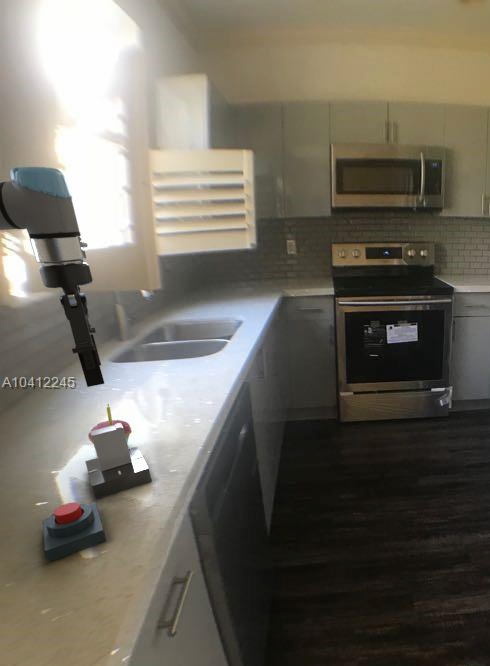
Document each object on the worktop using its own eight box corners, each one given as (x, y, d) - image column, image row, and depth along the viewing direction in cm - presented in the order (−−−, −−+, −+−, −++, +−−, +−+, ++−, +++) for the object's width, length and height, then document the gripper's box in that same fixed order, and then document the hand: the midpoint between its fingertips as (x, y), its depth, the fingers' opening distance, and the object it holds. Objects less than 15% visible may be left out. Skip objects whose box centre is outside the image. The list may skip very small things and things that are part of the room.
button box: (46, 530, 79) (39, 510, 78) (99, 512, 84) (93, 493, 82) (48, 562, 72) (41, 541, 70) (106, 540, 76) (100, 520, 75)
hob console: (88, 473, 97) (84, 460, 95) (140, 458, 102) (137, 445, 101) (95, 499, 87) (91, 485, 86) (152, 481, 93) (148, 467, 92)
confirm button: (56, 516, 77) (53, 507, 76) (81, 508, 79) (78, 499, 78) (57, 527, 74) (54, 518, 73) (83, 518, 76) (80, 509, 75)
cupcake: (143, 445, 108) (132, 398, 103) (110, 462, 101) (96, 412, 96) (119, 439, 111) (106, 393, 107) (85, 455, 104) (70, 407, 100)
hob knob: (101, 471, 91) (91, 434, 88) (100, 466, 93) (89, 430, 90) (132, 462, 94) (122, 426, 91) (130, 457, 96) (120, 422, 93)
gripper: (89, 266, 73) (121, 389, 81) (86, 257, 93) (112, 356, 101) (32, 271, 70) (71, 399, 77) (42, 260, 90) (72, 363, 97)
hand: (94, 375), depth 89 cm, fingers open, 13 cm apart
